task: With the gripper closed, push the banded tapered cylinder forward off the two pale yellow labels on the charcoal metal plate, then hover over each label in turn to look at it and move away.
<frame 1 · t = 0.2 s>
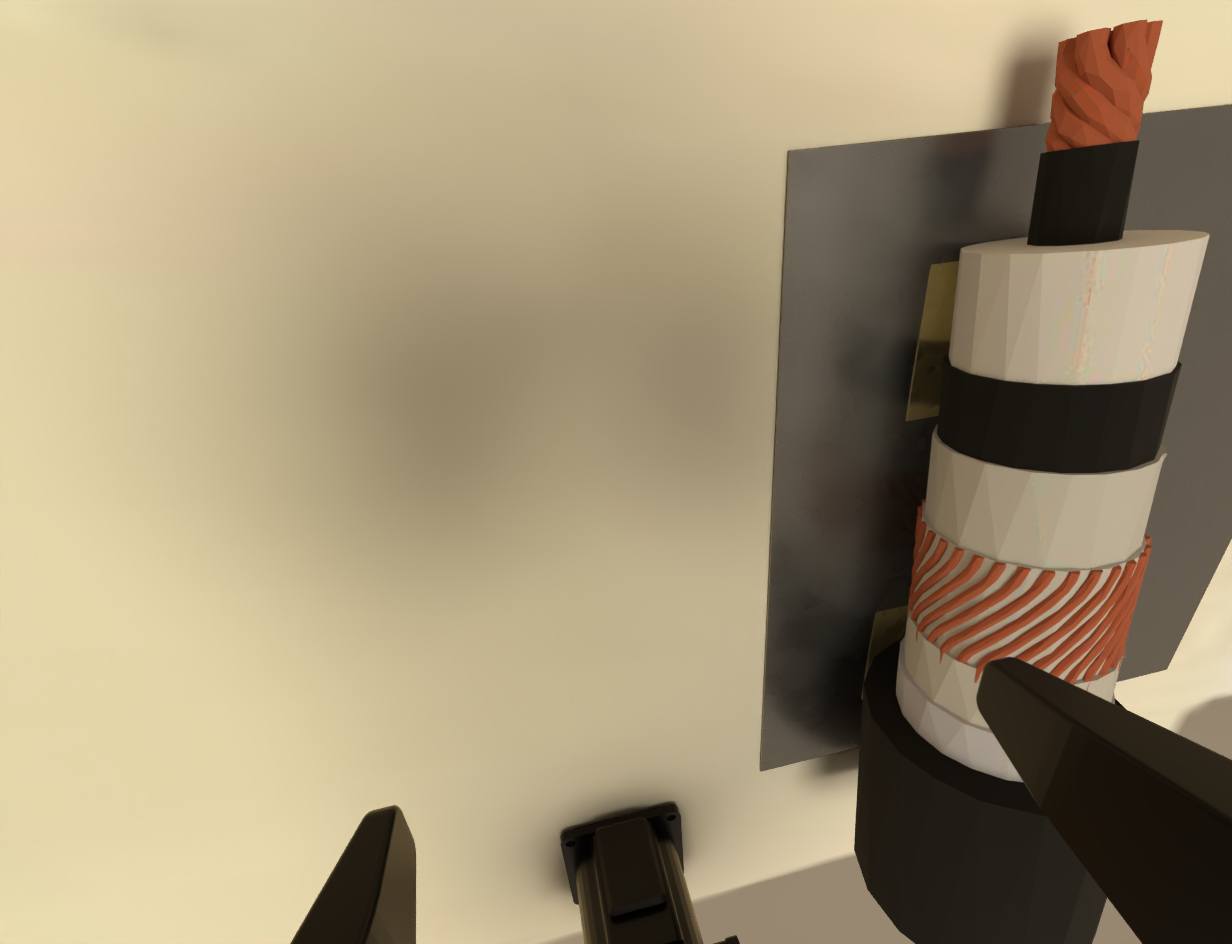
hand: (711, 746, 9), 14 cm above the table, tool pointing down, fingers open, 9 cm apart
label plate: (1038, 494, 27), on the table
banded tapered cylinder: (938, 512, 27), resting on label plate
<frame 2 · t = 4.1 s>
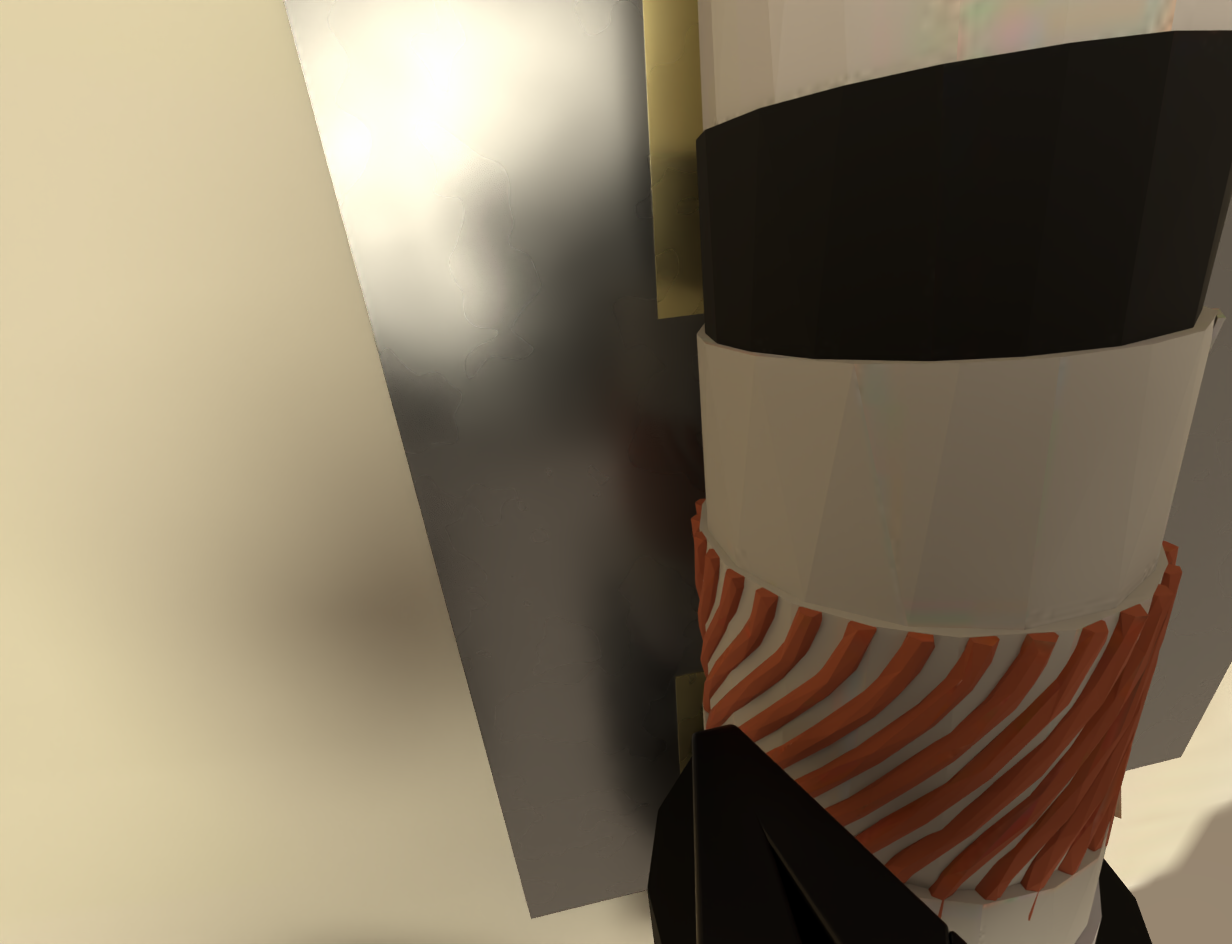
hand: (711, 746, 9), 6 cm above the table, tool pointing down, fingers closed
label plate: (948, 475, 16), on the table
banded tapered cylinder: (783, 504, 15), resting on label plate, touching gripper
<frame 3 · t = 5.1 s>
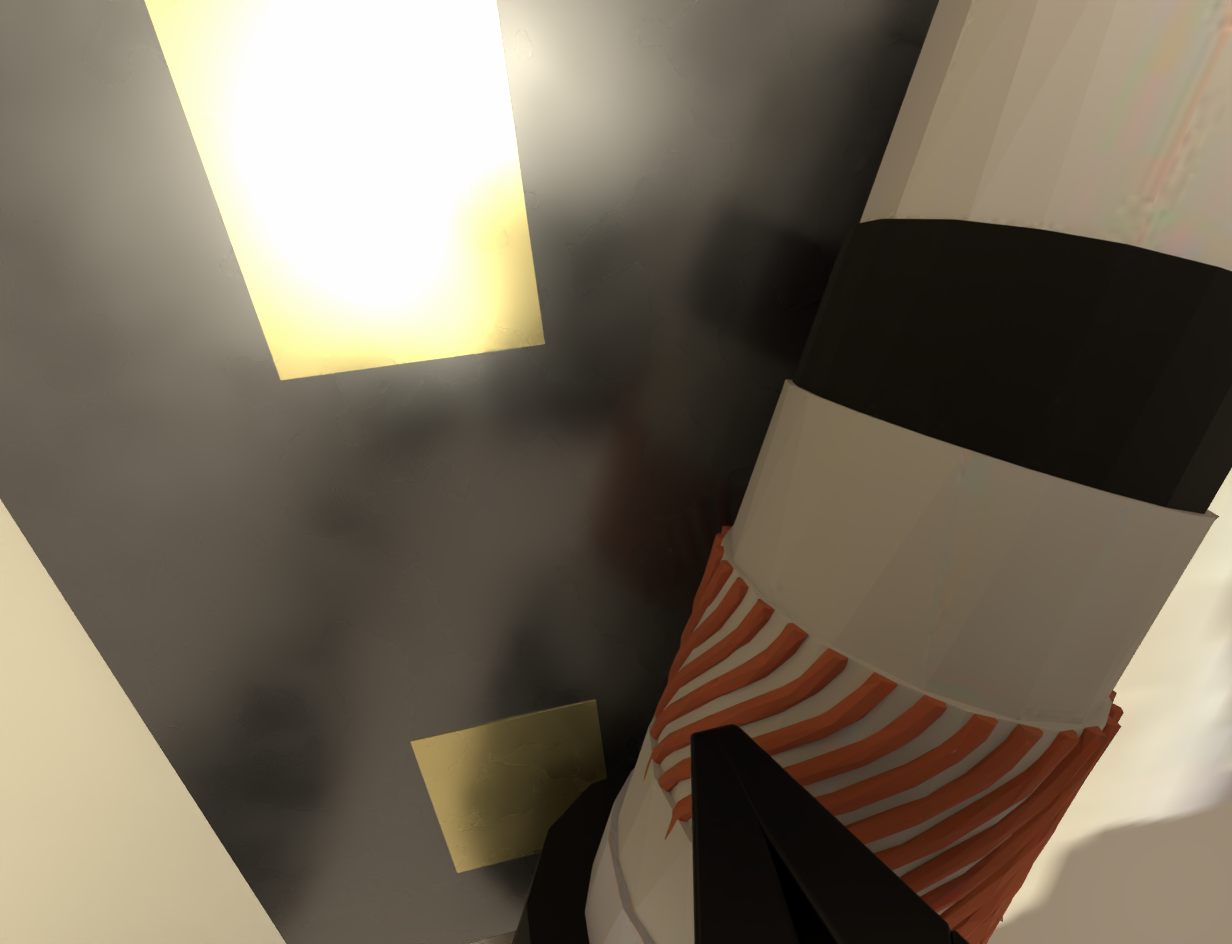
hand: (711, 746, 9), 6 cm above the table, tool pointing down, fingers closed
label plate: (674, 529, 15), on the table
banded tapered cylinder: (758, 568, 16), resting on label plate, touching gripper
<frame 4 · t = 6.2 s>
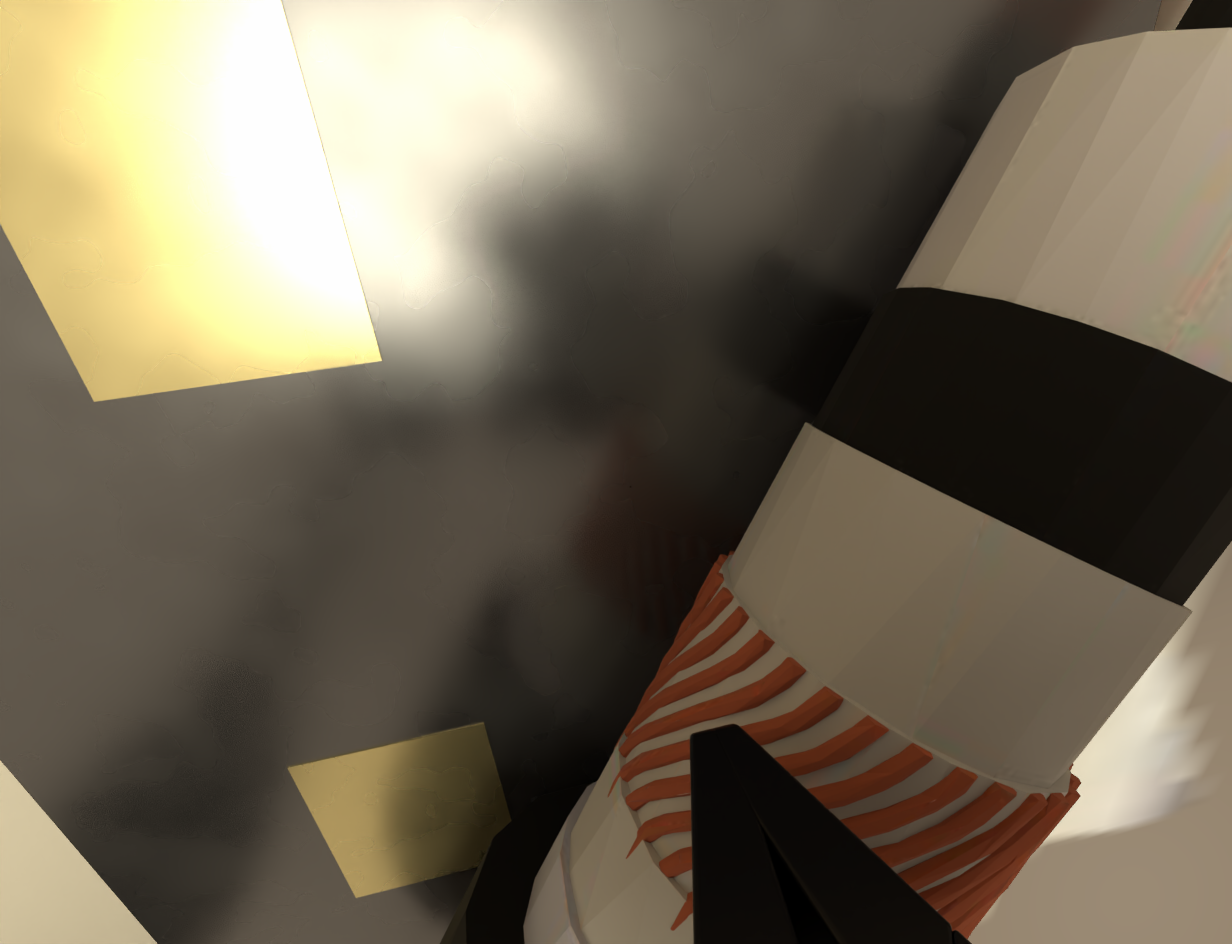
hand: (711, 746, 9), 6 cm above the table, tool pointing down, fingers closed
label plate: (549, 549, 14), on the table
banded tapered cylinder: (738, 600, 16), resting on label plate, touching gripper
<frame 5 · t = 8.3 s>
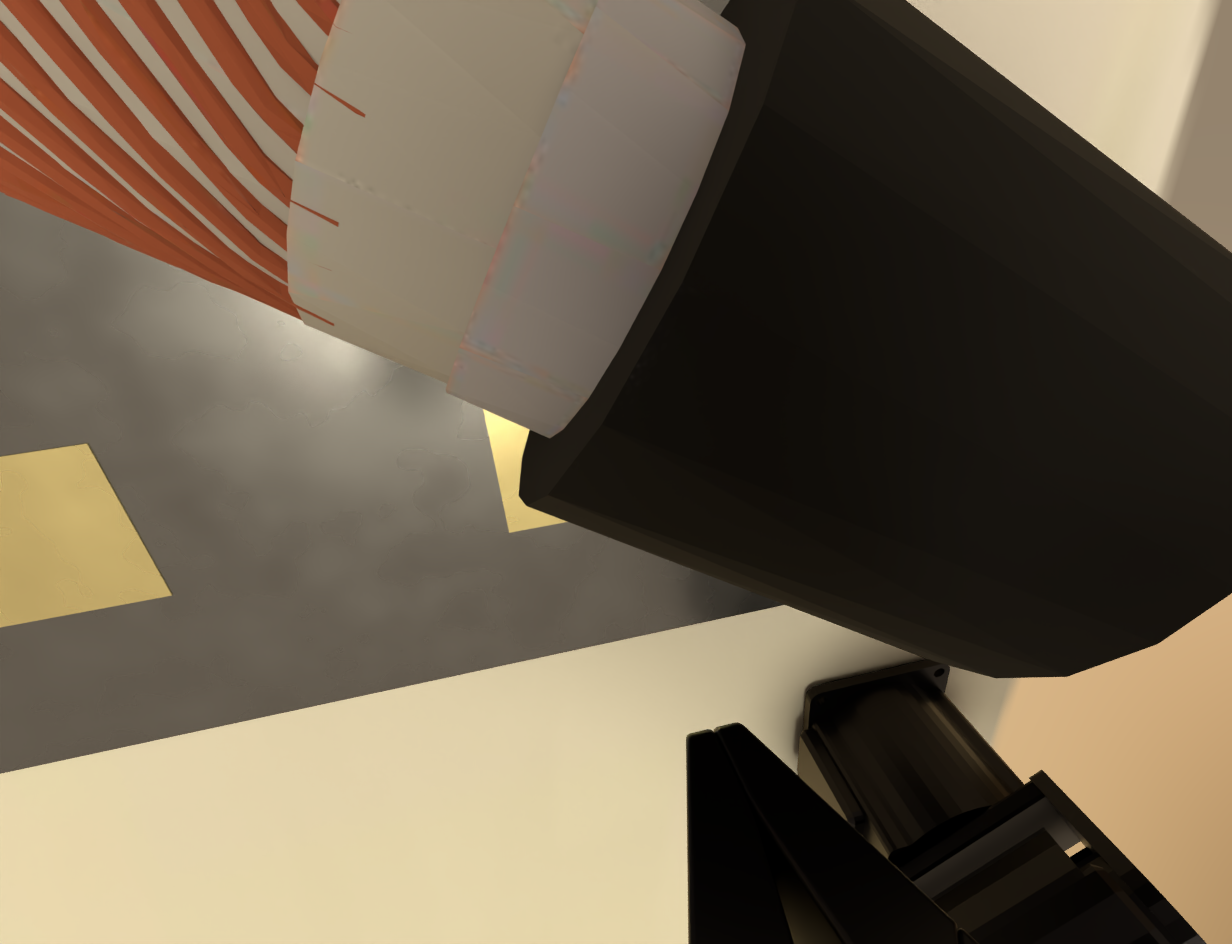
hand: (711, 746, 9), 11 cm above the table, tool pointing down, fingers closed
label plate: (257, 318, 15), on the table
banded tapered cylinder: (315, 86, 13), resting on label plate
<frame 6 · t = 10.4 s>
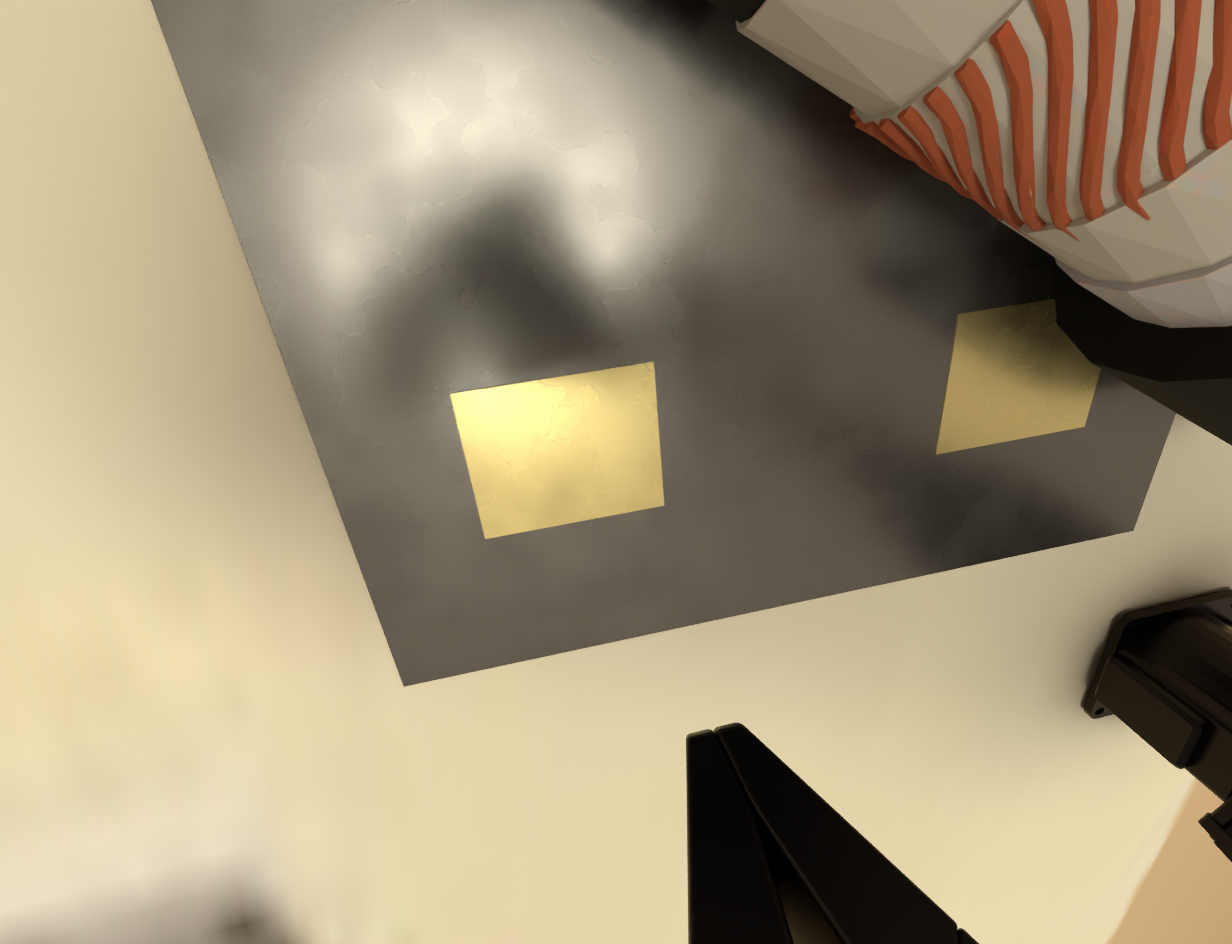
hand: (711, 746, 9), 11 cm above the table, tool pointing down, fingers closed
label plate: (813, 251, 17), on the table
banded tapered cylinder: (924, 45, 16), resting on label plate
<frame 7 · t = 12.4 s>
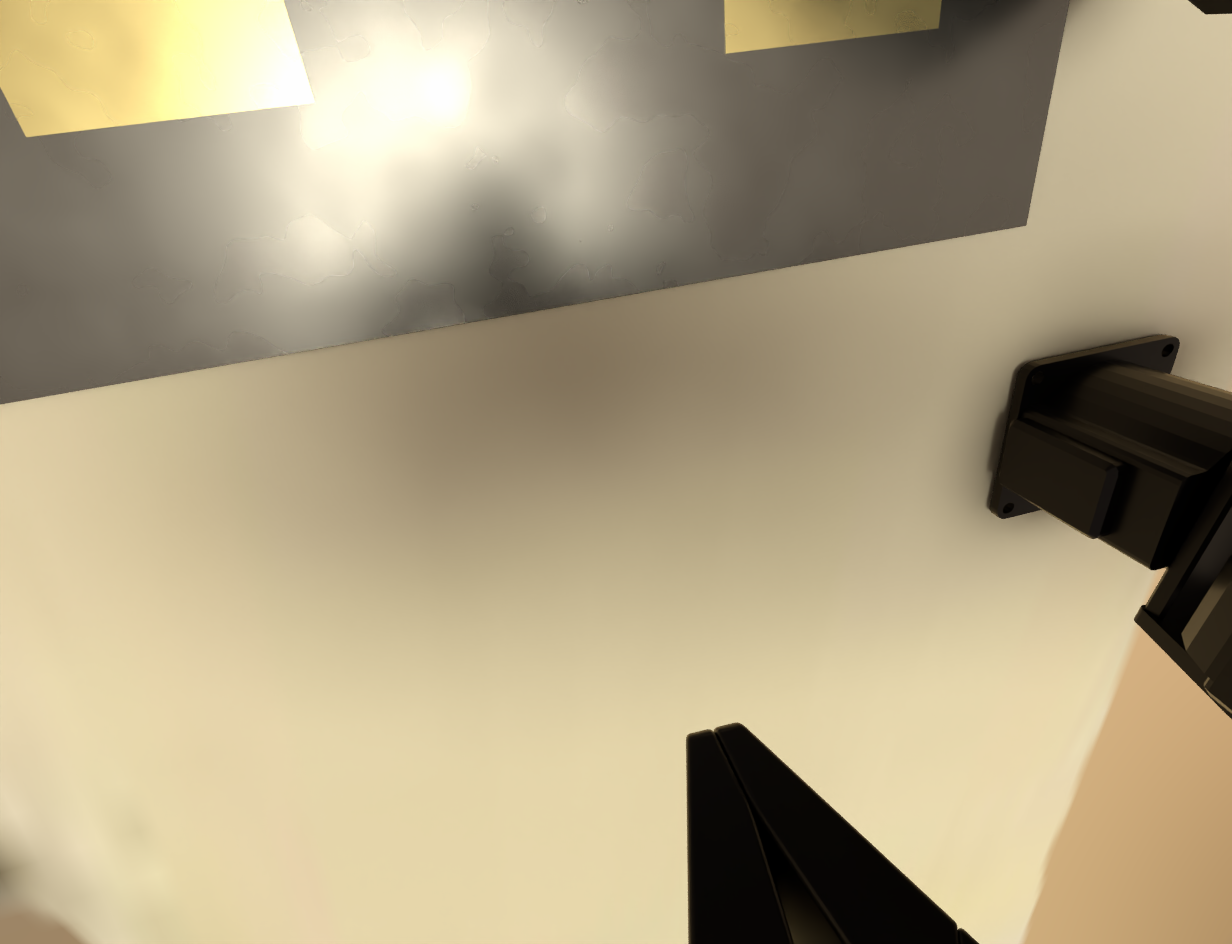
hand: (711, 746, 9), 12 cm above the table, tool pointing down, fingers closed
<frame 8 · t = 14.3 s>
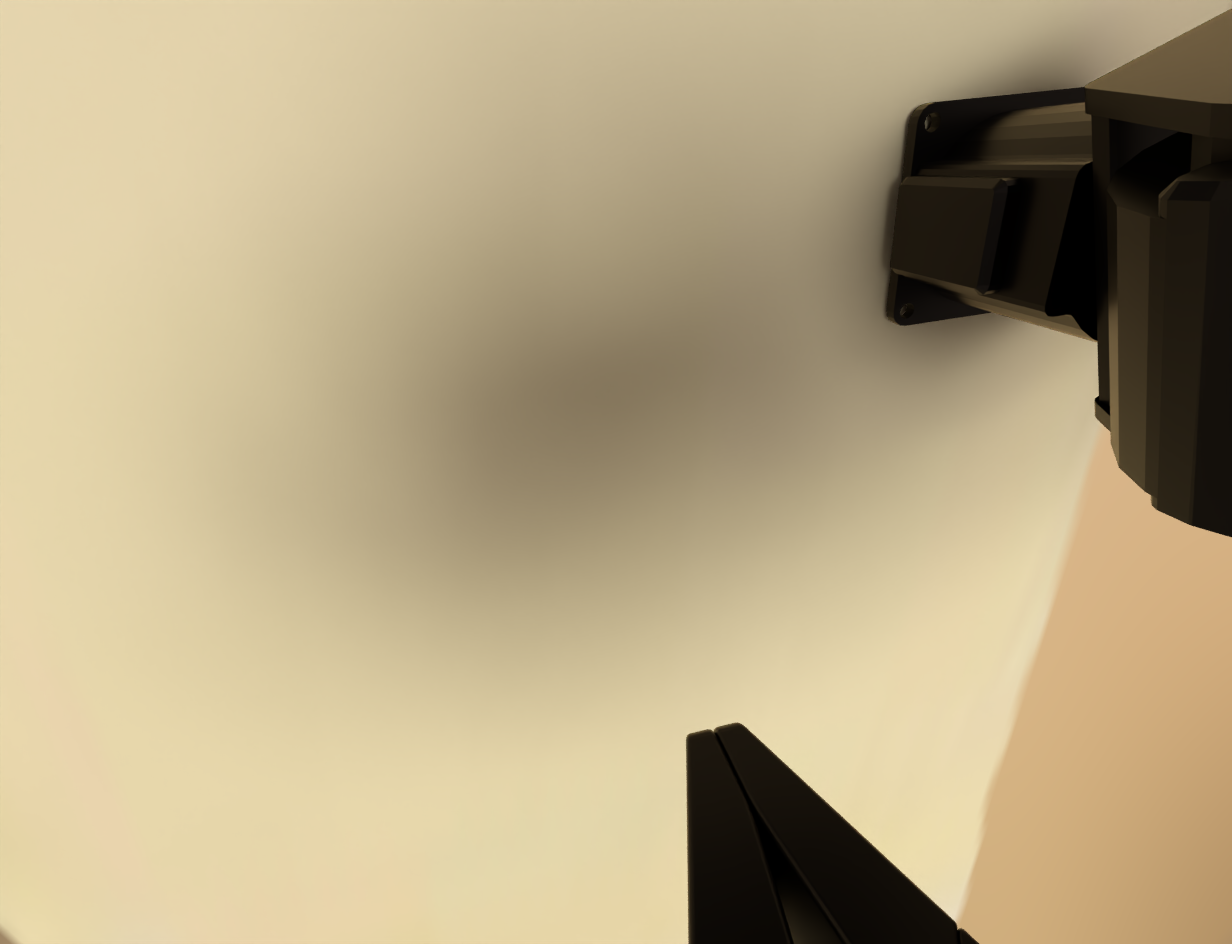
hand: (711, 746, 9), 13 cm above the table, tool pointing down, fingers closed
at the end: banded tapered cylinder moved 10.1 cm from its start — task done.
